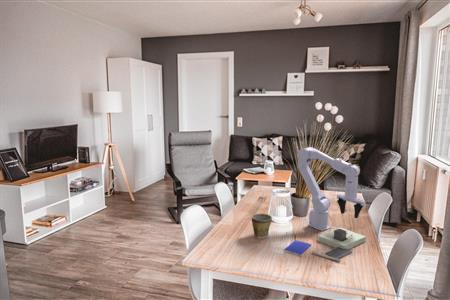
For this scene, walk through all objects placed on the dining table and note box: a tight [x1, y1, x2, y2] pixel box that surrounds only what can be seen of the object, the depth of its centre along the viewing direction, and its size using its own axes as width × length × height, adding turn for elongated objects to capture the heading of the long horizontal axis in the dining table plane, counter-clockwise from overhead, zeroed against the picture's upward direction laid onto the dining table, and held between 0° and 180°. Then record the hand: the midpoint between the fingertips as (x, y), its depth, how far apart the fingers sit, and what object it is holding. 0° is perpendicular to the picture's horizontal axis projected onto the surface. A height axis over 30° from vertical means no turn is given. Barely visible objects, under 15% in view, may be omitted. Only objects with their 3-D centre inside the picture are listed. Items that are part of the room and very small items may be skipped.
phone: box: [324, 247, 352, 260], centre depth 142 cm, size 6×11×1 cm, turn 126°
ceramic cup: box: [251, 213, 273, 240], centre depth 161 cm, size 13×10×10 cm
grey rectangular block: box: [333, 228, 347, 242], centre depth 153 cm, size 4×4×6 cm
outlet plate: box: [317, 227, 367, 250], centre depth 156 cm, size 14×18×3 cm
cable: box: [311, 251, 341, 263], centre depth 139 cm, size 12×1×1 cm, turn 51°
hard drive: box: [283, 239, 312, 257], centre depth 147 cm, size 2×8×12 cm
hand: (349, 215), depth 163 cm, fingers open, 7 cm apart
